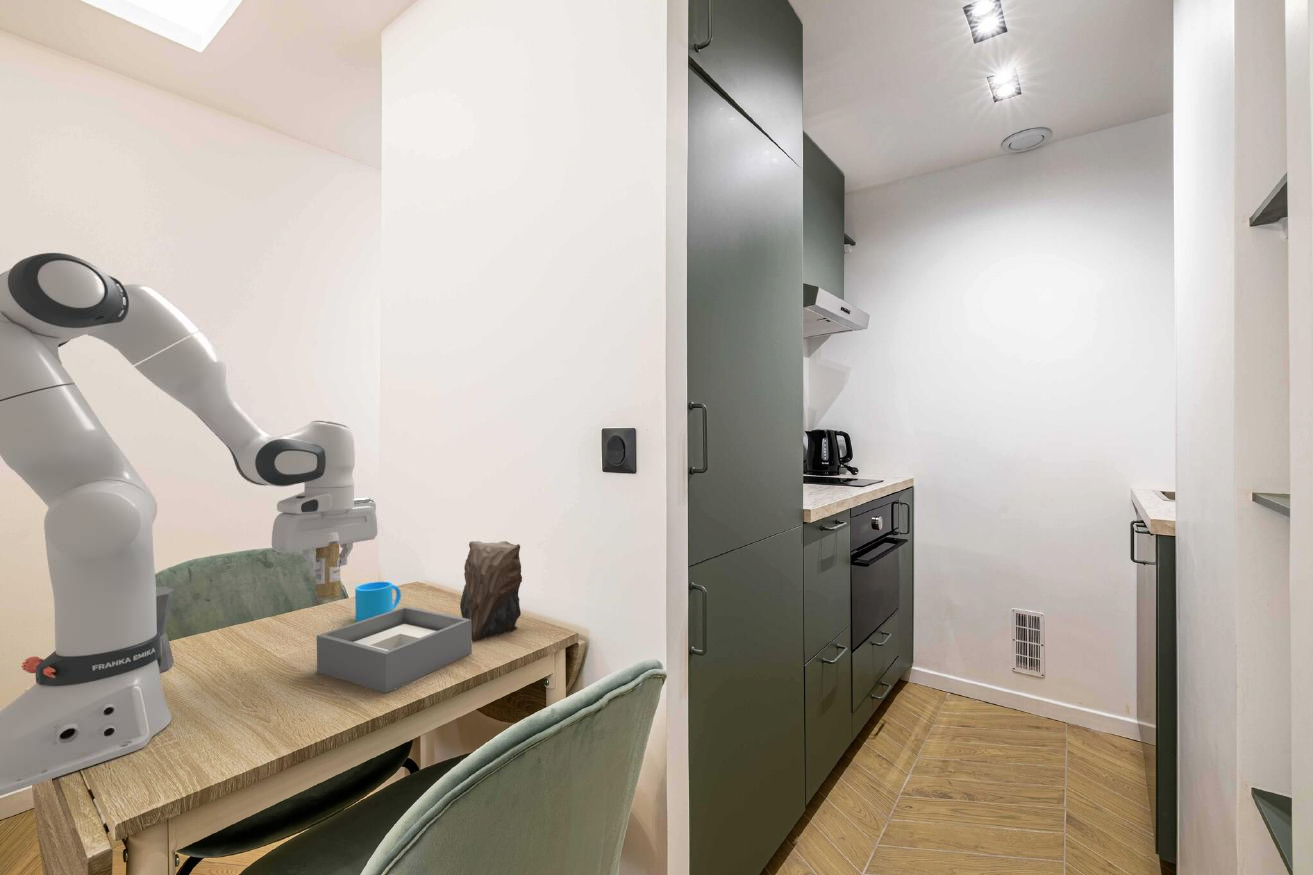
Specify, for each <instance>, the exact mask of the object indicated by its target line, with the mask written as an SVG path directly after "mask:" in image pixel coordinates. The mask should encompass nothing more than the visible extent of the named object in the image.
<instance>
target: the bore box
mask: <svg viewBox="0 0 1313 875" xmlns="http://www.w3.org/2000/svg"><path fill="white" fill-rule="evenodd" d="M472 642H473V641H472V623H471V619H466V618H462V616H461V617H460V616H455V615H450V614H445V613H441V612H435V611H431V610H426V609H421V608H416V607H411V606H407V605H406V606H403V607H399V608H397V609H393V611H390V612H387V613H384V614H381V615H378V616H375V617H372V618H369V619H366V620H362V621H359V622H356V621H355V622H353V623H351V624H347V625H344V626H342V627H339V628H335V629H332V630H330V631H327V632H324V633H321V634H317V635H316V672H317V673H320V674H323V675H326V676H329V677H332V678H335V679H338V680H342V681H345V682H347V683H352V684H354V683H355V684H354V685H357V686H360V685H362V686H361V687H364V686H365V688H367V687H368V688H367V689H370V688H371V689H370V690H373V689H374V691H376V690H378V691H377V692H380V693H383V692H386V693H387V692H389V693H391V692H392V691H391V690H393V691H395V690H396V689H395V688H397V689H399V688H401V687H403V685H404V686H405V685H407V684H410V683H412V682H414V681H416V680H418V679H421V678H422V676H423V677H424V675H425V676H427V675H429V674H431V673H433V672H435V671H437V670H439V669H441V668H444V667H445V666H448V665H450V664H452V663H454V662H456V661H458V660H460V659H463V658H464V657H467V656H469V655H471V654H472V653H473V652H472V651H473V648H472V645H473V644H472ZM430 672H431V673H430ZM428 673H429V674H428ZM426 674H427V675H426ZM400 686H401V687H400ZM394 689H395V690H394ZM390 691H391V692H390ZM386 693H385V694H386ZM387 694H388V693H387Z"/></svg>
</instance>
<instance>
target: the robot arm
mask: <svg viewBox="0 0 1313 875" xmlns="http://www.w3.org/2000/svg"><path fill="white" fill-rule="evenodd" d="M86 335H87V336H89V337H93V338H96V339H98V340H101V341H103V342H104V343H106V344H108V345H110V347H111V346H112V347H113V348H114V349H116V350H117V351H118V352H119V354H121V355H122V356H123V358H124V359H125V360H127V361H128V362H129V363H130V364H131V365H132V366H133V367H134V368H135V369H136V370H137V371H138V372H139V373H140V374H142V375H143V376H144V377H145V378H146V379H147V380H148V381H149V382H151V383H152V384H153V385H154V386H156V387H157V388H159V389H160V390H161V391H163V392H164V393H165V394H167V395H168V396H170V397H171V398H173V399H174V400H175V401H177V402H178V403H180V404H182V405H183V406H184V407H185V408H187V409H189V410H190V411H191V412H192V413H193V414H195V415H196V416H197V417H198V418H199V419H200V420H201V421H202V422H203V423H204V424H205V425H206V427H208V429H209V430H210V431H211V432H213V434H215V436H216V437H217V438H218V439H219V440H220V441H221V442H222V443H223V444H224V445H225V446H226V447H227V449H228V450H229V451H230V452H229V453H230V454H231V456H232V459H233V462H234V465H235V467H236V470H237V472H238V474H239V475H240V476H241V477H242V478H243V479H245V480H246V481H247V482H249V483H251V484H254V485H257V486H271V487H277V488H278V487H279V488H280V487H281V488H283V487H285V488H286V487H291V486H295V485H298V484H303V485H304V487H303V488H304V491H302V492H301V493H297V494H294V495H292V496H289V497H287V498H285V499H281V500H279V501H278V502H277V503H276V510H277V512H279V514H278V515H277V516H276V517H275V518H274V521H273V525H272V526H273V527H272V530H271V531H272V533H271V548H272V549H273V550H274V551H275V552H276V553H280V554H291V553H296V552H302V553H301V554H302V556H303V558H304V559H305V560H306V562H307V570H308V572H316V571H317V570H320V564H321V562H319V561H316V560H315V558H316V557H314V555H316V548H322V547H327V546H329V543H330V542H328V537H329V534H330V533H338V536H339V540H338V541H336V542H337V544H338V545H339V548H342V549H341V551H340V552H339V554H340V567H342V566H346V565H348V557H349V555H350V553H351V551H352V550H353V548H354V547H353V546H354V544H355V543H359V542H365V541H372V540H375V538H376V537H377V536H378V521H377V513H376V512H377V511H376V509H377V505H376V502H375V501H374V499H371V498H370V497H365V496H364V497H360V498H359V497H355V482H354V479H353V471H354V468H355V462H356V458H355V456H356V454H355V453H356V452H355V440H354V436H353V431H352V430H351V429H350V428H349V426H346V425H344V424H342V423H337V422H333V421H326V420H312V421H310V422H309V423H308V424H306V425H304V426H302V427H301V428H298V429H296V430H294V431H291V432H289V433H284V434H282V435H279V436H274V435H271V434H269V433H267V432H265V431H264V430H262V429H261V428H260V427H259V426H258V425H257V424H256V423H255V422H254V421H253V419H251V418H250V416H249V415H248V414H247V413H246V412H245V411H244V410H243V409H242V407H240V406H239V404H238V403H237V402H236V401H235V400H234V399H233V396H231V394H230V391H229V389H228V386H227V382H226V380H227V378H226V377H227V376H226V375H227V366H226V363H225V361H224V359H223V358H222V356H221V355H220V353H219V352H218V350H217V349H216V348H215V346H214V345H213V343H212V342H211V341H210V339H208V338H207V336H206V335H205V334H204V333H203V332H202V331H200V328H198V327H197V326H196V325H195V324H194V323H193V322H192V321H191V320H190V319H189V318H188V317H187V316H186V315H185V314H184V313H183V312H181V311H180V310H179V308H177V307H176V306H175V305H173V304H172V303H171V301H168V300H167V299H166V298H165V297H163V296H162V295H161V294H159V293H158V292H157V291H155V290H154V289H153V288H150V287H149V286H145V285H142V284H136V283H135V284H134V283H133V284H131V283H130V284H122V282H121V281H120V280H118V279H117V278H115V277H113V276H111V275H108V274H106V273H105V272H104V271H103V270H101V269H100V268H99V267H97V266H96V265H94V264H92V263H91V262H88V261H87V260H85V259H82V258H80V257H77V256H74V255H71V254H68V253H67V254H66V253H61V252H45V253H39V254H34V255H32V256H29V257H25V258H22V259H21V260H20V261H18V262H17V263H16V264H14V265H13V266H12V268H10V269H8V270H6V271H4V272H2V273H0V458H1V459H2V460H3V461H4V463H5V464H6V465H7V466H8V467H9V468H10V470H13V472H15V473H16V474H17V475H18V476H19V477H20V478H21V479H22V481H23V482H25V483H26V484H27V485H28V486H29V487H30V489H31V490H32V491H34V493H35V494H36V495H37V496H38V497H39V498H40V500H42V502H44V504H45V505H46V506H47V508H48V509H47V511H46V513H45V516H44V520H43V530H44V539H45V551H46V556H47V557H46V558H47V564H48V572H49V578H50V582H51V588H52V595H53V600H54V601H53V603H54V605H53V606H54V643H55V644H54V651H53V652H52V653H51V654H49V655H48V656H47V657H46V658H44V659H43V658H40V657H39V656H31V657H27V658H26V659H25V660H24V662H22V665H21V666H20V667H21V668H22V670H23V671H25V672H26V673H29V674H35V684H33V685H32V686H31V687H30V688H28V689H27V690H26V691H25V692H23V693H22V694H21V695H19V697H17V698H16V699H14V700H13V701H12V702H10V703H9V704H7V705H6V706H5V707H4V708H3V709H1V710H0V797H1V796H4V795H7V794H11V793H13V792H17V791H20V790H22V789H25V788H29V787H31V786H35V785H37V784H39V783H44V782H46V781H49V780H53V779H55V778H58V777H62V776H64V775H67V774H69V773H73V772H76V771H79V770H83V769H85V768H88V767H90V766H95V765H96V764H97V765H98V764H100V763H103V762H107V761H110V760H112V759H115V758H117V757H121V756H123V755H127V754H130V753H134V752H136V751H139V750H141V749H143V748H144V747H146V746H147V745H148V743H149V742H150V741H151V739H152V738H153V737H154V736H155V735H157V734H158V733H159V732H161V731H162V730H163V729H165V728H166V727H167V726H168V725H169V724H170V723H171V722H172V719H173V715H172V713H171V711H170V709H169V706H168V704H167V701H166V698H165V694H164V690H163V685H162V680H161V673H160V672H159V667H160V666H161V657H162V644H161V640H160V633H159V632H157V616H156V587H157V582H156V573H155V572H156V571H155V569H156V568H155V558H154V539H153V538H154V537H153V525H154V522H155V520H156V518H157V513H158V505H157V504H158V503H157V500H156V498H155V496H154V494H153V492H152V491H151V490H150V488H149V486H148V485H147V484H146V483H145V481H144V480H143V479H142V477H141V475H140V474H139V473H138V471H137V470H136V469H135V468H134V466H133V464H132V463H131V462H130V461H129V458H127V456H126V455H125V454H124V453H123V451H122V450H121V449H120V447H119V446H118V445H117V443H116V441H114V439H113V438H112V436H110V434H109V433H108V431H107V430H106V429H105V427H104V426H103V424H102V422H101V421H100V419H99V417H98V416H97V415H96V414H95V412H94V410H93V409H92V407H91V406H90V403H89V402H88V401H87V399H86V398H85V397H84V395H83V393H82V392H81V390H80V389H79V388H78V387H79V386H77V384H76V383H75V381H74V380H73V378H72V377H71V375H70V374H69V372H68V371H67V370H66V368H65V367H64V366H63V363H62V360H61V358H60V355H59V348H60V347H62V346H63V345H67V343H68V342H69V341H72V340H73V339H76V338H80V337H82V336H86ZM188 336H189V337H188ZM331 543H333V542H331Z"/></svg>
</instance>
